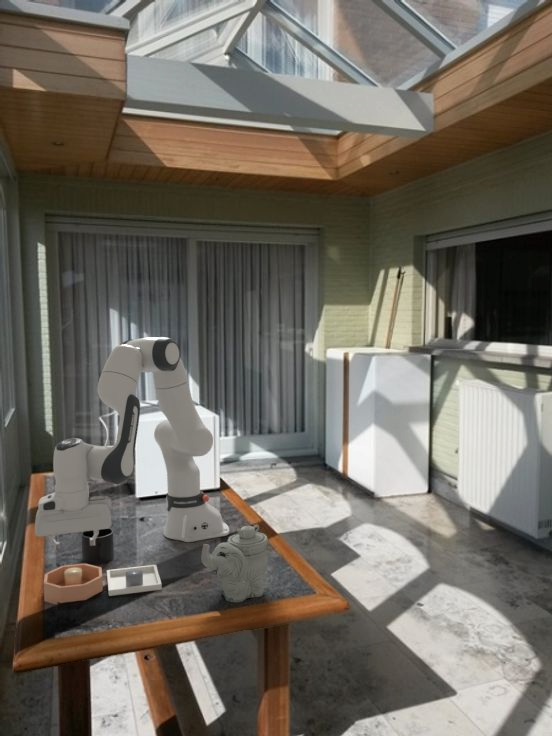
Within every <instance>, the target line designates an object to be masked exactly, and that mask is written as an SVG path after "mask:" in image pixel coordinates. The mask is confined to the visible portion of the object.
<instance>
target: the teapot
mask: <svg viewBox="0 0 552 736" xmlns="http://www.w3.org/2000/svg"><path fill="white" fill-rule="evenodd" d="M259 530H260V526H259V524H254V525H253V526H251V525H245V526H242V527H241V528H238V529H236V532H237V533H235V534H233V535H230V536H228V539H227V541H226V542H220V543H219V544H217V546H215V548H214V550H213V551H212V553H211V554H210V548H211V545H210V544H207V543H203V545H202V551H201V556H200V557H201V558H200V560H201V563H202V564H203V565H204V566H205V568H207V569H209V570H210V571H211V572H212V573H213V574H214V575H215V576H218V577H219V579H220V583H221V591H220V592H221V593H222V595H223V597H224V598H225V601H227V602H230V603H242V602H244V601H245V600H246V599H248V598H259V597H262V596H263V595H264V590H265V589H264V583H265V580H266V573H267V569H268V567H269V554H268V552H267V550H266V548H267V546H268V543H269V539H268V536H267V535H266V534H265V533H263V532H259Z"/></svg>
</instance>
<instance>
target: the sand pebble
mask: <svg viewBox="0 0 552 736" xmlns="http://www.w3.org/2000/svg"><path fill="white" fill-rule="evenodd" d="M64 574H65V586H70V585H79V584H82V569H81V568H69V569H67V570H65V572H64Z"/></svg>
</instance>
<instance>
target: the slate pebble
mask: <svg viewBox="0 0 552 736" xmlns="http://www.w3.org/2000/svg"><path fill="white" fill-rule="evenodd" d="M140 585H143V571H141V570H137V569H134V570H129V571H127V572H126V587H131V586H140Z"/></svg>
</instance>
